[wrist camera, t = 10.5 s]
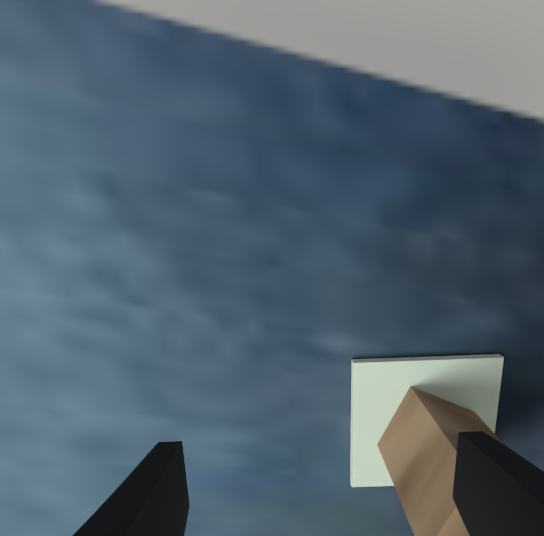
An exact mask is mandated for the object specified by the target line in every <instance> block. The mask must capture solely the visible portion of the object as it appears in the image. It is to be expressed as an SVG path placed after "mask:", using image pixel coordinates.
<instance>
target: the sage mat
mask: <svg viewBox="0 0 544 536" xmlns="http://www.w3.org/2000/svg"><path fill="white" fill-rule="evenodd" d="M503 361H504V357H503V356H501V355H500V354H485V355H457V356H430V357H402V358H375V359H352V368H351V452H350V483H351V486H352V487H371V486H394V484H393V482H392V479H391V477H390V475H389V472H388V470H387V467H386V465H385V463H384V460H383V458H382V455H381V453H380V450H379V448H378V446H377V444H378V442H379V440H380V438H381V437H382V435H383V433H384V431H385V430H386V428H387V426H388V424H389V423H390V421H391V419H392V417H393V416H394V414H395V412H396V410H397V409H398V407H399V405H400V403H401V402H402V400H403V398H404V396H405V395H406V393H407V391H408V390H409V388H410V386H411V387H414V388H416V389H419V390H421V391H424V392H426V393H429V394H431V395H434V396H436V397H439V398H441V399H444V400H446V401H449V402H451V403H454V404H456V405H459V406H462V407H464V408H467V409H469V410H472V411H474V412H475V413H476V414H477V415H478V416H479V417H480V418H481V419H482V420H483V422H484V423H485V424H486V425H487V426H488V427H489V428H490V429H491V430H492V431H493V432H494V433H495V427H496V419H497V411H498V402H499V394H500V386H501V378H502V370H503Z"/></svg>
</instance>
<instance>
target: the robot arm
mask: <svg viewBox="0 0 544 536" xmlns="http://www.w3.org/2000/svg"><path fill="white" fill-rule="evenodd" d="M452 498H453V500H454V502H455V504H456V507H457V509H458V511H459V514H460V516H461V518H462V520H463V523H464V525H465V527H466V529H467V531H468V533H469V536H544V472H543V471H542V470H540V469H539V468H538V467H536V466H535V465H533V464H532V463H530V462H529V461H527V460H526V459H524V458H523V457H521V456H520V455H518V454H517V453H515V452H514V451H512V450H511V449H509V448H508V447H506V446H505V445H503V444H502V443H500V442H499V441H497V440H496V439H494V438H493V437H491V436H489V435H488V434H486V433H484V432H483V431H473V432H458V443H457V454H456V464H455V475H454V486H453V496H452ZM188 511H189V497H188V489H187V480H186V472H185V463H184V455H183V446H182V441H176V442H159V443H158V444H157V445H156V446H155V447H154V448H153V449H152V450H151V451H150V452H149V453H148V454H147V456H146V457H145V458H144V459H143V460H142V461H141V462H140V463H139V465H138V466H137V467H136V468H135V469H134V470H133V471H132V472H131V474H130V475H129V476H128V477H127V478H126V479H125V480H124V481H123V483H122V484H121V485H120V486H119V487H118V488H117V489H116V490H115V491H114V492H113V494H112V495H111V496H110V497H109V498H108V499H107V500H106V501H105V502H104V503H103V504H102V505H101V506H100V508H99V509H98V510H97V511H96V512H95V513H94V514H93V515H92V516H91V517H90V518H89V519H88V520H87V521H86V522H85V523H84V525H83V526H82V527H81V528H80V529H79V530H78V531H77V532H76V533H75V534H74V535H73V536H184V532H185V527H186V522H187V516H188Z"/></svg>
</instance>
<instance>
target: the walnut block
mask: <svg viewBox="0 0 544 536" xmlns="http://www.w3.org/2000/svg"><path fill="white" fill-rule="evenodd" d="M473 431H483V432H484V433H486V434H488V435H489V436H491V437H493V438H494V439H496V440H497V441H499V442H500V443H502V444H503V445H505V444H504V443H503V442H502V441H501V440H500V439H499V438H498V437H497V436H496V435H495V433H494V432H493V431H492V430H491V429H490V428H489V427H488V426H487V425H486V424H485V423H484V422H483V420H482V419H481V418H480V417H479V416H478V415H477V414H476V413H475V412H474V411H472V410H469V409H467V408H464V407H462V406H459V405H456V404H454V403H451V402H449V401H446V400H444V399H441V398H439V397H436V396H434V395H431V394H429V393H426V392H424V391H421V390H419V389H416V388H414V387H411V386H410V388H409V390H408V391H407V393H406V395H405V396H404V398H403V400H402V402H401V403H400V405H399V407H398V409H397V410H396V412H395V414H394V416H393V417H392V419H391V421H390V423H389V424H388V426H387V428H386V430H385V431H384V433H383V435H382V437H381V438H380V440H379V442H378V444H377V446H378V448H379V450H380V453H381V455H382V458H383V460H384V463H385V465H386V467H387V470H388V472H389V475H390V477H391V479H392V482H393V484H394V487H395V489H396V492H397V494H398V496H399V499H400V501H401V504H402V506H403V509H404V511H405V513H406V516H407V518H408V521H409V523H410V526H411V528H412V530H413V533H414V535H415V536H469V533H468V531H467V529H466V527H465V525H464V523H463V520H462V518H461V516H460V514H459V511H458V509H457V507H456V504H455V502H454V500H453V498H452V496H453V486H454V475H455V464H456V454H457V443H458V432H473ZM505 446H506V445H505Z"/></svg>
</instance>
